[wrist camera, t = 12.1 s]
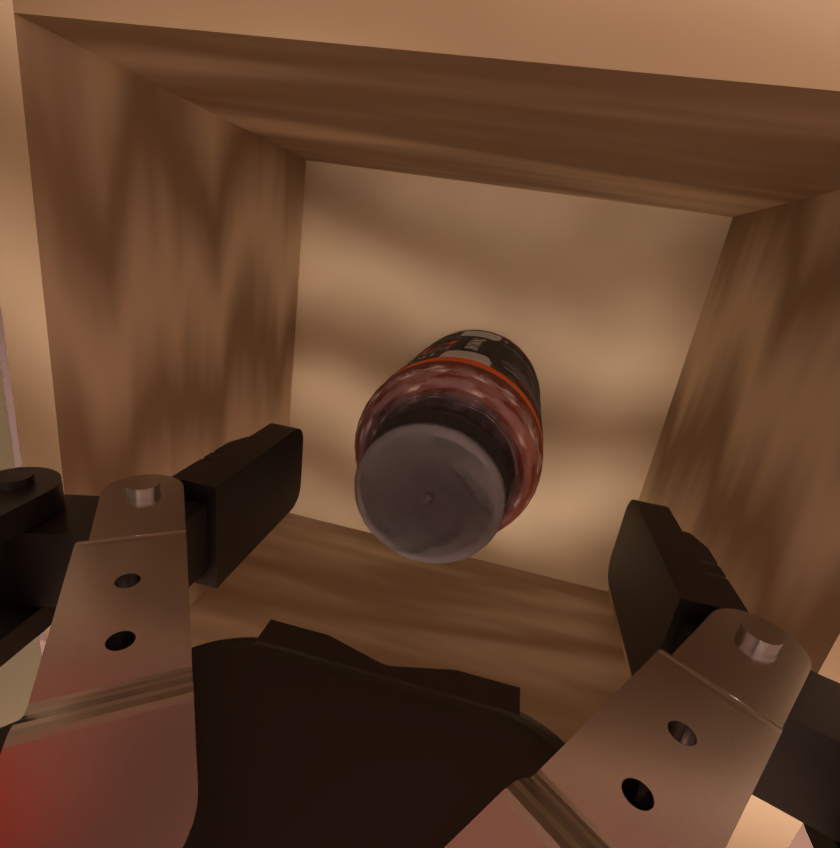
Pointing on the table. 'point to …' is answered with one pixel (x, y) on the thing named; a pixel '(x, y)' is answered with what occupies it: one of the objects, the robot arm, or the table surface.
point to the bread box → (444, 293)
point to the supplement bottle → (450, 448)
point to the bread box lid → (13, 682)
